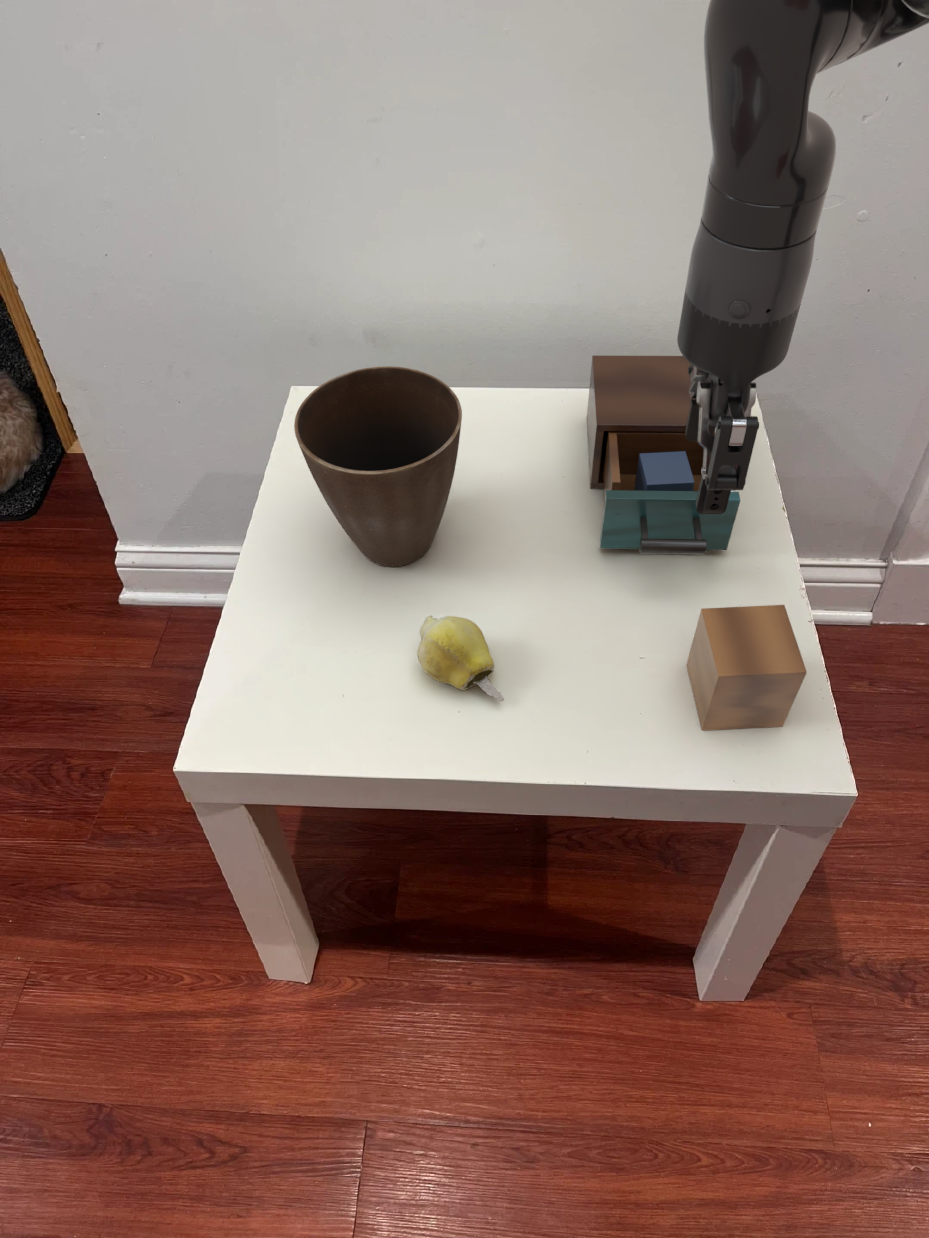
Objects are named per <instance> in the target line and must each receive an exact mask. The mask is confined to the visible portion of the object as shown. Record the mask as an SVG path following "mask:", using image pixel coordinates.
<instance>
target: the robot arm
mask: <svg viewBox="0 0 929 1238" xmlns="http://www.w3.org/2000/svg"><path fill="white" fill-rule="evenodd" d="M928 24H929V0H709V3H708V6H707V11H706V15H705V21H704V28H703V29H704V32H703V58H704V59H703V60H704V72H705V73H704V74H705V84H706V98H707V112H708V122H709V132H710V140H711V148H712V155H711V160H710V163H709V168H708V175H707V179H706V187H705V192H704V198H703V204H702V211H701V215H700V221H699V226H698V227H697V228H698V229H697V232H696V235H695V238H694V241H693V245H692V249H691V253H690V258H689V265H688V270H687V276H686V281H685V289H684V293H683V294H684V295H683V299H682V300H683V301H682V307H681V313H680V320H679V325H678V331H677V337H676V338H677V340H676V341H677V345H678V350H679V351H680V353H681V356H684V358H685V359H686V360H687V361H688V362H689V363H690V366H689V367H688V374H689V378H690V387H689V394H690V398H695V399H691V403H690V409H689V414H688V419H687V425H686V430H685V434H686V439H687V440H688V441H696V442H698V444H699V445H701V446H702V447H703V448H704V453H703V468H701V475H702V476H701V481H700V485H699V490H698V495H697V499H696V510H697V512H698V513H699V514H722V513H724V512H725V511H726V508H727V504H728V500H729V496H730V492H732V491H743V490H744V487H745V485H746V482H747V481H746V480H747V476H748V471H749V467H750V463H751V459H752V455H753V450H754V446H755V442H756V438H757V434H758V430H759V428H760V422H759V418H758V416H757V415H756V416H755V415H753V416H752V408H753V407H754V406H755V404H756V400H757V389H758V388H757V381H755V380H756V379H758V378H759V377H762V376H763V375H765V374H767V373H769V372H771V371H773V370H774V369H776V368H777V367H779V365H781V364H782V363H783V362H784V360H785V359H786V357H787V355H788V352H789V349H790V345H791V340H792V339H793V334H794V330H795V326H796V323H797V319H798V315H799V312H800V308H801V306H802V302H803V298H804V295H805V294H804V293H805V290H806V287H807V283H808V278H809V275H810V271H811V268H812V264H813V257H814V250H815V241H816V235H817V230H818V227H819V226H818V225H819V222H820V219H821V215H822V211H823V208H824V205H825V200H826V196H827V193H828V189H829V186H830V182H831V178H832V176H833V175H832V174H833V170H834V165H835V161H836V154H837V140H836V139H837V138H836V135H835V133H834V130H833V128H832V127H831V126H830V124H829V122H828V121H826V120H825V119H824V118H823V117H822V116H820V115H819V114H816V113H815V112H812V111H810V110H809V105H810V104H809V103H810V95H811V91H812V87H813V84H814V81H815V78H816V76H817V74H820V73H823V72H825V71H826V70H829V69H830V68H834V67H835V66H839V65H840V64H843V63H845V62H847V61H850V60H851V59H854V58H856V57H858V56H861V55H862V54H865V53H867V52H869V51H872V50H873V49H876V48H878V47H880V46H883V45H886V44H887V43H889V42H891V41H894V40H895V39H898V38H900V37H902V36H904V35H906V34H909V33H911V32H914V31H915V30H916V31H917V30H918V29H920V28H922V27H924V26H926V25H928ZM715 427H716V428H715ZM714 432H715V436H714Z"/></svg>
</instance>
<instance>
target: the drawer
mask: <svg viewBox="0 0 929 1238" xmlns="http://www.w3.org/2000/svg"><path fill="white" fill-rule="evenodd" d="M714 436H715V432H714ZM679 451H686V455H687V458H688V462H689V465H690V468H691V472H692V475H693V479H694V482H695V483H694V487H693V491H635V488H634V487H635V480H636V474H637V467H638V460H639V454H640V453H660V452H679ZM703 453H704V448H703V447H702V446H701V445H699V444H698V442H696V441H688V440H687V439H686V434H685V432H666V431H608V436H607V444H606V453H605V462H604V471H603V482H604V489H603V495H604V496H603V497H604V501H603V508H602V509H603V510H602V518H601V519H602V520H601V527H600V535H599V548H600V549H608V550H609V549H614V550H617V549H618V550H619V549H621V550H638V551H639V554H645V555H646V554H651V555H653V554H655V555H656V554H658V555H706V554H707V552H708V551H728V546H729V543H730V539H731V536H732V532H733V529H734V525H735V522H736V518H737V514H738V511H739V507H740V503H741V497H740V492H739V491H731V492H730V496H729V500H728V504H727V508H726V511H725V512H724V513H722V514H699V513H698V512H697V510H696V499H697V495H698V490H699V485H700V481H701V476H702V475H701V468H703Z"/></svg>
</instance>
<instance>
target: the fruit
mask: <svg viewBox="0 0 929 1238" xmlns="http://www.w3.org/2000/svg"><path fill="white" fill-rule="evenodd" d="M419 635H420V640H419V644H418V647H417V653H416V654H417V655H416V656H417V659H418V663H419V665H420V667H421V669H422V670H423V671H424V672H425V673H426V674H427V675H428V676H430V677H431V678H432V679H434V680H435V681H438V682H439V683H444V684H448V685H451V686H453V687H454V688H456V689H458V690H462V691H464V690H467V689H470V688H472V687H475V686H479V688H480V689H481V690H482V691H483V692H485V694H487V696H490V697H492V698H494V699H495V700H498V701H500V702H503V701H504V700H505V698H504V696H503V695H502V693H501V692H500V691H499V689H498V688H497V687H496V686H495V685H494V684H493V683H492V682H490V680H489V679H488V677H489V676H490V675H491V674H492V673H493V672H494V670H495V663H494V660H493V659H494V658H493V657H492V656H491V653H490V648H489V646H488V643H487V641H486V639H485V635H484V633H483V632H482V630H481V628H480V627H479V625H477V624H476V623H475V622H474V621H472V620H471V619H468V618H465V617H462V616H461V617H460V616H457V615H456V616H455V615H445V616H443V617H440V618H435V617H433V615H428V616H427V617H425V619H424V621H423V622H422V624H421V626H420V629H419Z"/></svg>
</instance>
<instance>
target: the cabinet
mask: <svg viewBox="0 0 929 1238" xmlns="http://www.w3.org/2000/svg"><path fill="white" fill-rule="evenodd" d="M689 366H690V363H689V362H688V361H687V360H686V359H685V358H684V356H683V355H595V354H593V355H592V356H591V366H590V376H589V387H588V400H587V409H586V410H587V411H586V433H587V435H586V436H587V451H588V452H587V454H588V455H587V456H588V474H589V488H590V489H594V490H598V489H599V490H600V489H601V490H602V489H603V490H604V482H603V471H604V462H605V453H606V444H607V436H608V431H666V432H685V430H686V425H687V419H688V414H689V409H690V403H691V399H695V398H690V394H689V387H690V378H689V374H688V367H689ZM715 428H716V427H715Z"/></svg>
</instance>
